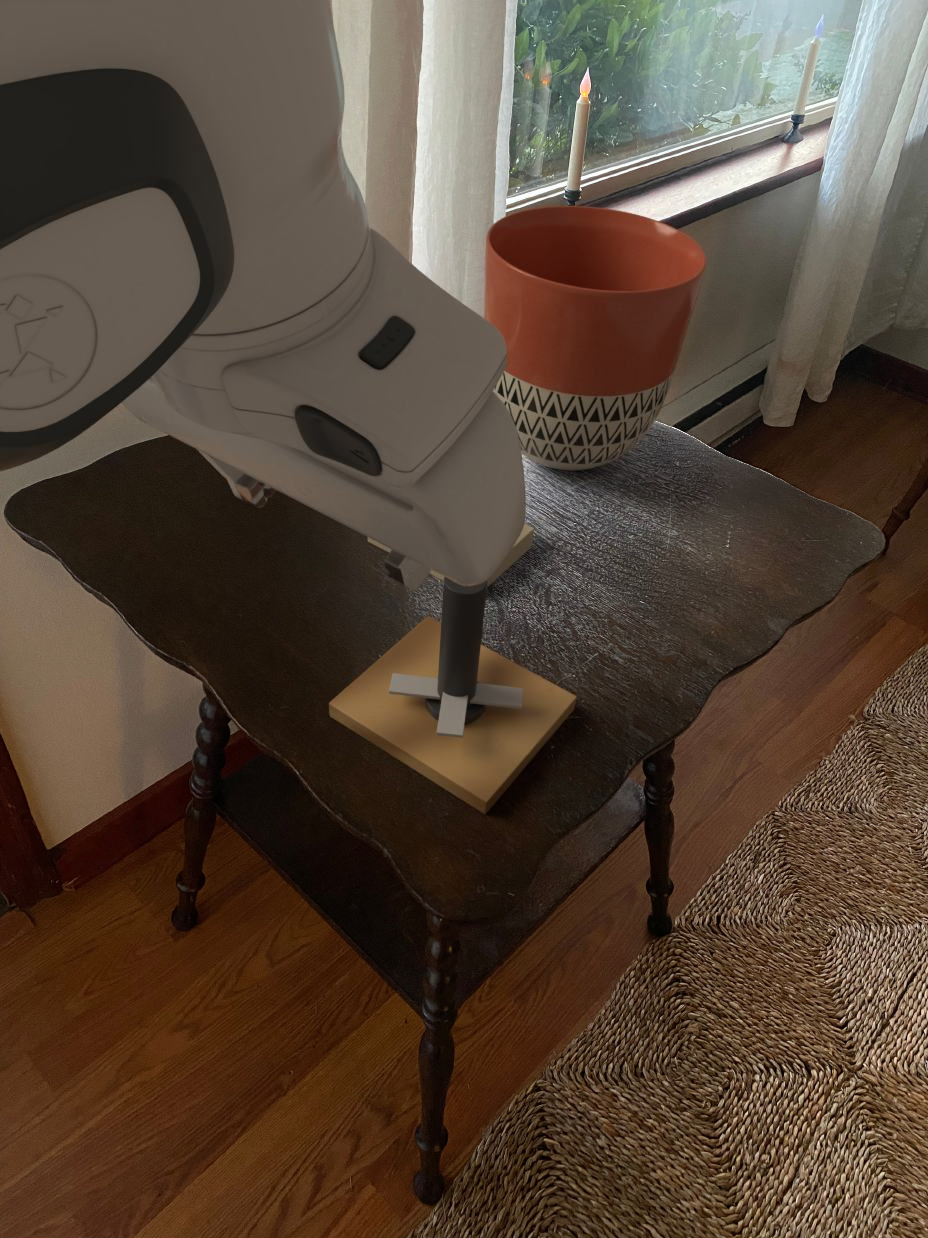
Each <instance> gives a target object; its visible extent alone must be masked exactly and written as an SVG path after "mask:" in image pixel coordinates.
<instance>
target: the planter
mask: <svg viewBox="0 0 928 1238" xmlns="http://www.w3.org/2000/svg"><path fill="white" fill-rule="evenodd" d="M703 249H704V248H702V246H701V245H700V244H699V243H698V242H697V241H696V240H694V239H693V238H692V237H691V236H689V235H688V234H686V233H685V232H683V231H681V230H680V229H677V228H675V227H674V226H672V225H669V224H667V223H664V222H661V221H659V220H656V219H653V218H650V217H647V216H644V215H641V214H636V213H632V212H627V211H622V210H618V209H612V208H604V207H596V206H583V205H582V206H581V205H552V206H551V205H550V206H541V207H534V208H528V209H523V210H519V211H517V212H513V213H511V214H510V213H509V214H508V215H505V216H504V217H502V218H501V217H500V219H498V220H497V221H495V223H493V224H492V225H491V226H490V227H489V229H488V231H487V232H486V238H485V249H484V250H485V253H484V290H483V294H484V297H483V318H484V319H486V320H487V321H488V322H490V323H491V324H492V325H493V326H494V327H495V328H497V330H498V331H499V332H500V333H501V335H502V336H503V338H504V340H505V343H506V346H507V366H506V369H505V371H504V372H503V374H502V376H501V378H500V380H499V381H498V383H497V385H496V386H495V388H494V390H493V392H494V393H495V394H496V395H497V396H498V397H499V398H500V399H501V401H502V402H503V403H504V405H505V406H506V408H507V409H508V411H509V413H510V414H511V416H512V419H513V421H514V423H515V426H516V429H517V432H518V437H519V441H520V447H521V454H522V456H524V457H526V458H527V459H529V460H531V461H533V462H535V463H537V464H539V465H542V466H545V467H548V468H550V469H555V470H561V471H562V470H563V471H583V470H590V469H593V468H594V469H595V468H597V467H601V466H604V465H606V464H609V463H611V462H613V461H615V460H616V459H618V458H620V457H622V456H624V455H625V454H626V453H628V452H630V451H631V450H632V449H633V448H635V447H636V446H637V445H638V444H639V443H640V442H641V441H642V440H643V439H644V437H645V436H646V435H647V433H648V432H649V431H650V429H651V427H652V426H653V424H654V423H655V421H656V419H657V417H658V415H659V413H660V412H661V410H662V408H663V406H664V403H665V400H666V398H667V395H668V393H669V390H670V386H671V383H672V380H673V377H674V374H675V372H676V371H675V370H676V368H677V364H678V362H679V361H678V360H679V358H680V356H681V353H682V349H683V345H684V343H685V342H684V341H685V338H686V335H687V332H688V329H689V325H690V323H691V319H692V316H693V313H694V309H695V306H696V304H697V301H698V297H699V294H700V290H701V288H702V287H701V286H702V284H703V280H704V276H705V273H706V270H707V269H706V268H707V265H708V260H707V255H706V253H705V251H704V250H703Z"/></svg>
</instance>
